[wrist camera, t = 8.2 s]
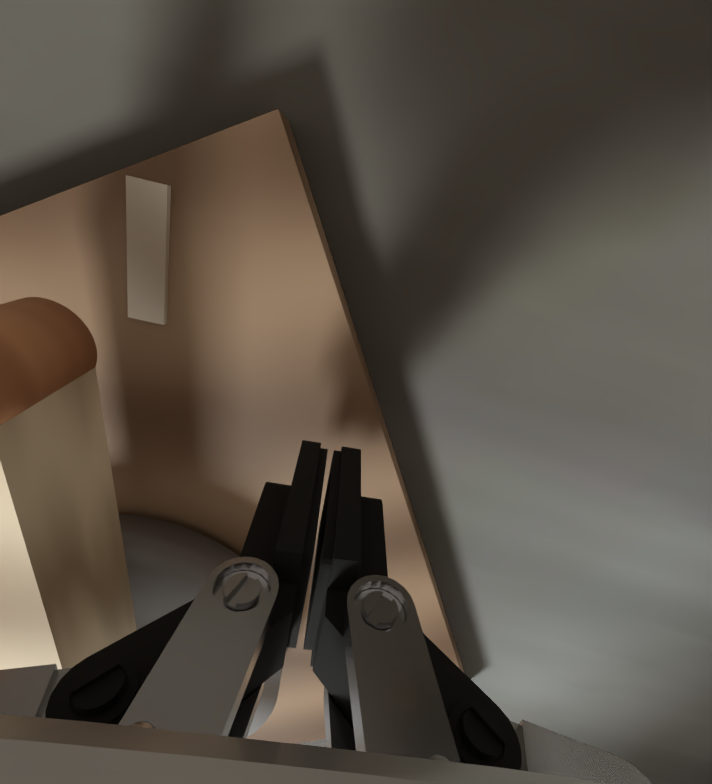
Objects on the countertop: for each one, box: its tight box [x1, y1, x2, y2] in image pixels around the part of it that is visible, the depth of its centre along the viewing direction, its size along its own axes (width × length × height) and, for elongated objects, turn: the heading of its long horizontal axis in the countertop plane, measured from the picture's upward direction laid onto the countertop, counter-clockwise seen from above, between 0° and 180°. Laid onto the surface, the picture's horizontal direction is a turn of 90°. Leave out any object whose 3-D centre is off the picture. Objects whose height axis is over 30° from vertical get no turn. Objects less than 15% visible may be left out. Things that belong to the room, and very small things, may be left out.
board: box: [0, 109, 465, 744], centre depth 17 cm, size 26×22×2 cm
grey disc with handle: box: [0, 297, 282, 737], centre depth 12 cm, size 20×12×6 cm, turn 173°
